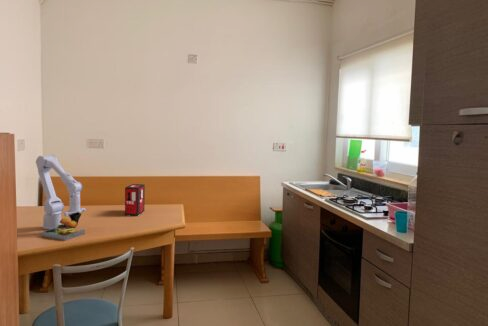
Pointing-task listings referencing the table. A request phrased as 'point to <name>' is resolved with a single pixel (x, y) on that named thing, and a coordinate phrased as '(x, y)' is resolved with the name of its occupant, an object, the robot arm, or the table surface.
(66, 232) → the cheeseburger
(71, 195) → the robot arm
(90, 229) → the table surface
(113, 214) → the table surface
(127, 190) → the cleaning product box
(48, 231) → the rack
